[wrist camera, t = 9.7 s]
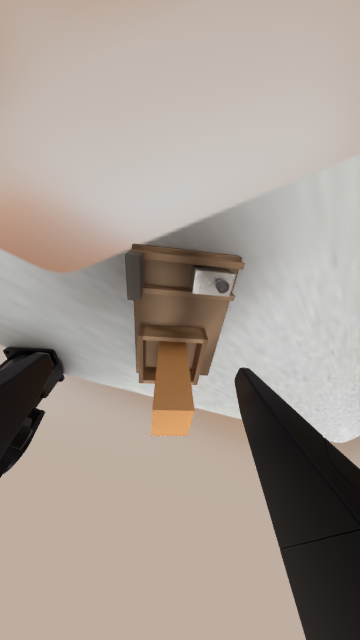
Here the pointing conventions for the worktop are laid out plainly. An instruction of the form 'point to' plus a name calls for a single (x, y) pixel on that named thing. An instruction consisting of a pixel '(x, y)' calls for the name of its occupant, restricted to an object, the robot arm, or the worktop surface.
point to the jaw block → (172, 391)
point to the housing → (174, 305)
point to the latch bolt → (212, 281)
